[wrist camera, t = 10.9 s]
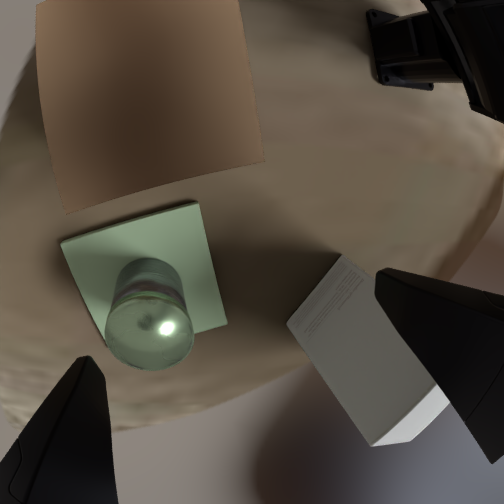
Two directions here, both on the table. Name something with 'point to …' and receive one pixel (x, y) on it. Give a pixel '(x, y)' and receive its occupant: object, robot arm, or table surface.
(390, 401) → the supplement box
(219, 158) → the tan box
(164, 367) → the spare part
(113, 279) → the sage mat
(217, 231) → the table surface
